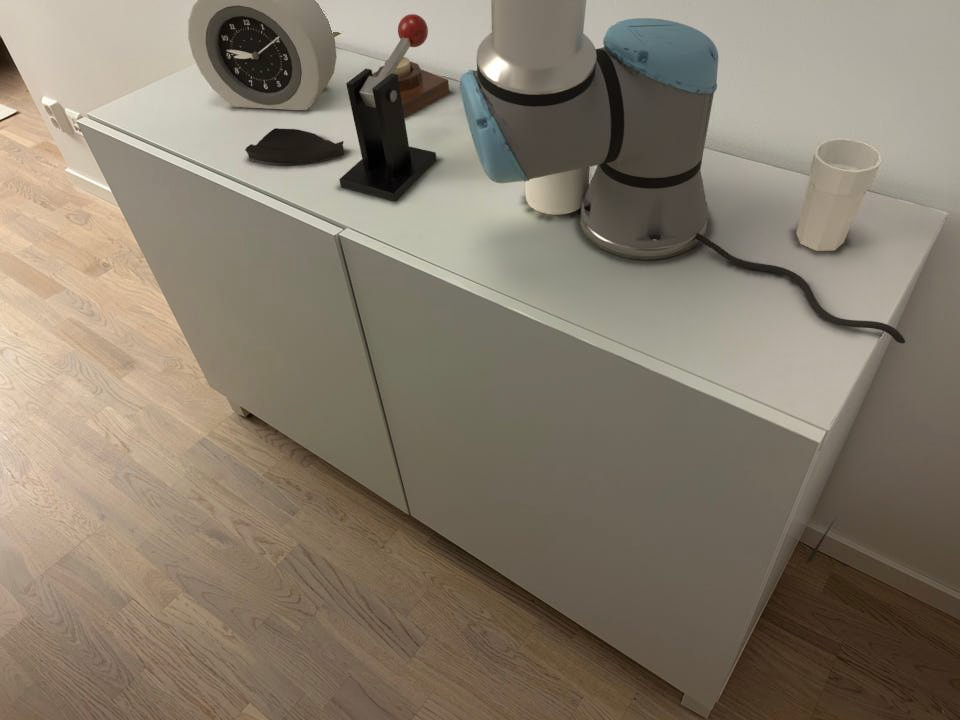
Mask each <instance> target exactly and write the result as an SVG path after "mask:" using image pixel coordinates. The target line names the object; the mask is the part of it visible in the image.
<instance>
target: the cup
mask: <svg viewBox="0 0 960 720" xmlns="http://www.w3.org/2000/svg"><path fill="white" fill-rule="evenodd" d="M811 160H812V161H811V165H810V169H809V173H808V182H807V183H808V184H807V187H806V192H805V196H804V200H803V204H802V207H801V208H802V209H801V212H800V217H799V222H798V225H797V230H796V232H795V233H796V236H797V239H798V241H799V243H800V244H799V245H802V246H805V247H807V248H809V249H811V250H813V251H815V252H829V251H830V252H832V251H836V250H837V249H838V248H839V247H841V245H843V244H844V243H845V241H846V238H847V236H848V233H849V231H850V230H851V229H850V228H851V226H852V223H853V222H854V219H855V217H856V216H857V213H858V211H859V208H860V207H861V204H862V202H863V199H864V198H865V195H866V193H867V191H869V189H870V188H871V186H872V183H873V182H874V178H875V176H876V174H877V172H878V170H879V167H880V165H881V162H882V160H883V159H882V153H881V152H880V151H879V150H877V149H876V148H875V147H874V146H872V145H870V144H869V143H866V142H864V141H860V140H856V139H852V138H841V137H840V138H834V139H828V140H825V141H823V142H820V143H818V144H817V146H816V147H815V148H814V153H813V156H812V159H811Z"/></svg>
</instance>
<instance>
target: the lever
mask: <svg viewBox="0 0 960 720" xmlns="http://www.w3.org/2000/svg"><path fill="white" fill-rule="evenodd" d="M428 27H429V26H428V24H427V22H426V20H425V19H424V18H423V17H421V16H420V15H418V14H416V13H410V14H407V15H404V16H403V17H402V18H401V19H400V21H399V23H398V26H397V34H398V38H399V42H398V43H397V44H396V46H395V48H394V49H393V51H392V52H391V54H390V55H389V57H388V59H386V61H387V62H386V61H385V62H386V64H385V63H384V65H383V66H384V67H383V68H382V70H381V72H380V73H379V75H378V76H377V77H372V76H369V77H368V79H367V80H366V82H365V83H364V85H363V86H362V88H361V90H360V91H359V93H360V95H361V97H362V99H363V101H364V103H365V105H366V106H370V107H375V108H376V106H375V101H374V95H373V90H372V88H373V87H375V86H376V85H377V84H379V83H380V82H381V81H382V80H384V79H385V78H386V77H387V76H389V75H390V74H391V73H392V74H393V73H394V71H395V70H396V68H397V66H398V65H399V63H400V62H401V60H402V58H403V57H405V55H406V54H407V52H408V50H409V49H410V48H417V47H419V46H422V45H423V44H424V43H425V42H426V40H427V38H428V35H429V28H428Z"/></svg>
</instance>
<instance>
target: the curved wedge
mask: <svg viewBox="0 0 960 720" xmlns="http://www.w3.org/2000/svg"><path fill="white" fill-rule="evenodd" d="M344 142H345V141H344V140H342V141H340V142H339V141H338V142H336V143H335V142H333V141H332V140H330V139H324V138H323V137H321V136H320V135H317V134H315V133H313V132H309V131H306V130H303V129H296V128H279V127H278V128H277V127H275V128H273V129H271V130H270V131H269V132H268V133H266V134H265V136H263V137H262V138H261V139H260V140H259V141H258V142H257V143H256V144H252V143H250V144H249V145H248V146H246V148H245V149H244V151H245V152H246V153H247V155H248V160H249V161H251V162H253V163H254V162H255V163H258V164H263V165H264V164H265V165H270V166H298V165H308V164H313V163H318V162H319V163H320V162H323V161H328V160H331V159H334V158H337V157H341V156H343V155H344V154H345V149H344Z"/></svg>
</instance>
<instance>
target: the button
mask: <svg viewBox="0 0 960 720" xmlns="http://www.w3.org/2000/svg"><path fill="white" fill-rule="evenodd" d="M410 61H411V60H410V59H409V58H408V57H405V56H404V57H403V58H402V60H401V62H400V63H399V65H398V66H397V68H396V70H395V71H394V73H393V74H397V75H398V77H403V76H406V75H408V74H410V73H411V66H410ZM386 62H387V60H385V61H384V65H385V64H386Z"/></svg>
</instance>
